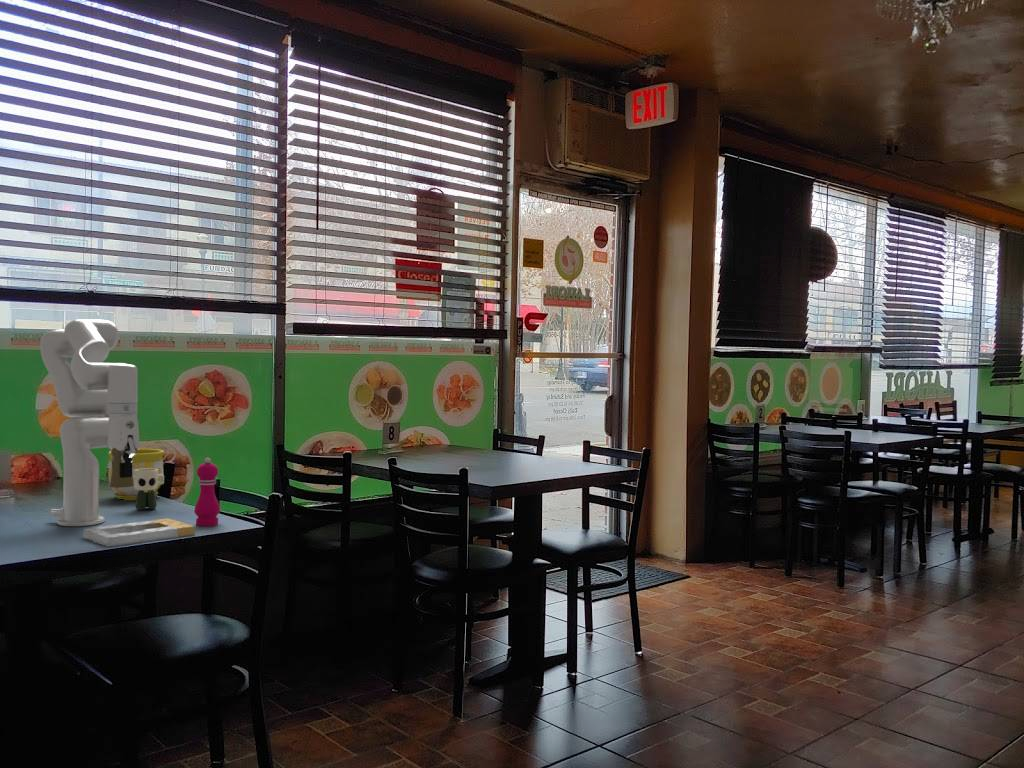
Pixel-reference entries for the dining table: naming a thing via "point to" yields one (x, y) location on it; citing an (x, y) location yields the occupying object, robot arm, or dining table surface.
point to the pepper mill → (207, 495)
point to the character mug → (146, 487)
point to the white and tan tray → (138, 532)
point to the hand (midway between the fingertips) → (122, 475)
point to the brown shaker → (115, 477)
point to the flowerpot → (140, 461)
